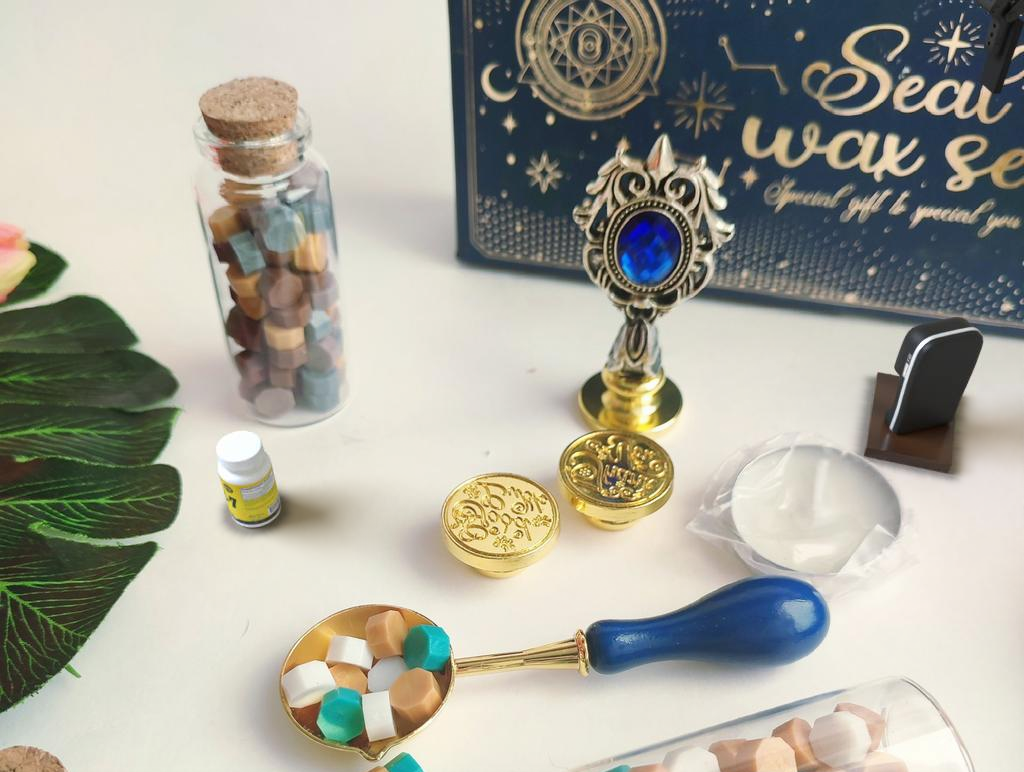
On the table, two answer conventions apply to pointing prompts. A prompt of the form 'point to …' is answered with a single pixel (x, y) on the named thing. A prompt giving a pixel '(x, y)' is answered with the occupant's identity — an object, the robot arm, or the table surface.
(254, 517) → the supplement bottle
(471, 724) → the table surface
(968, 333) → the battery charger
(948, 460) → the walnut board
